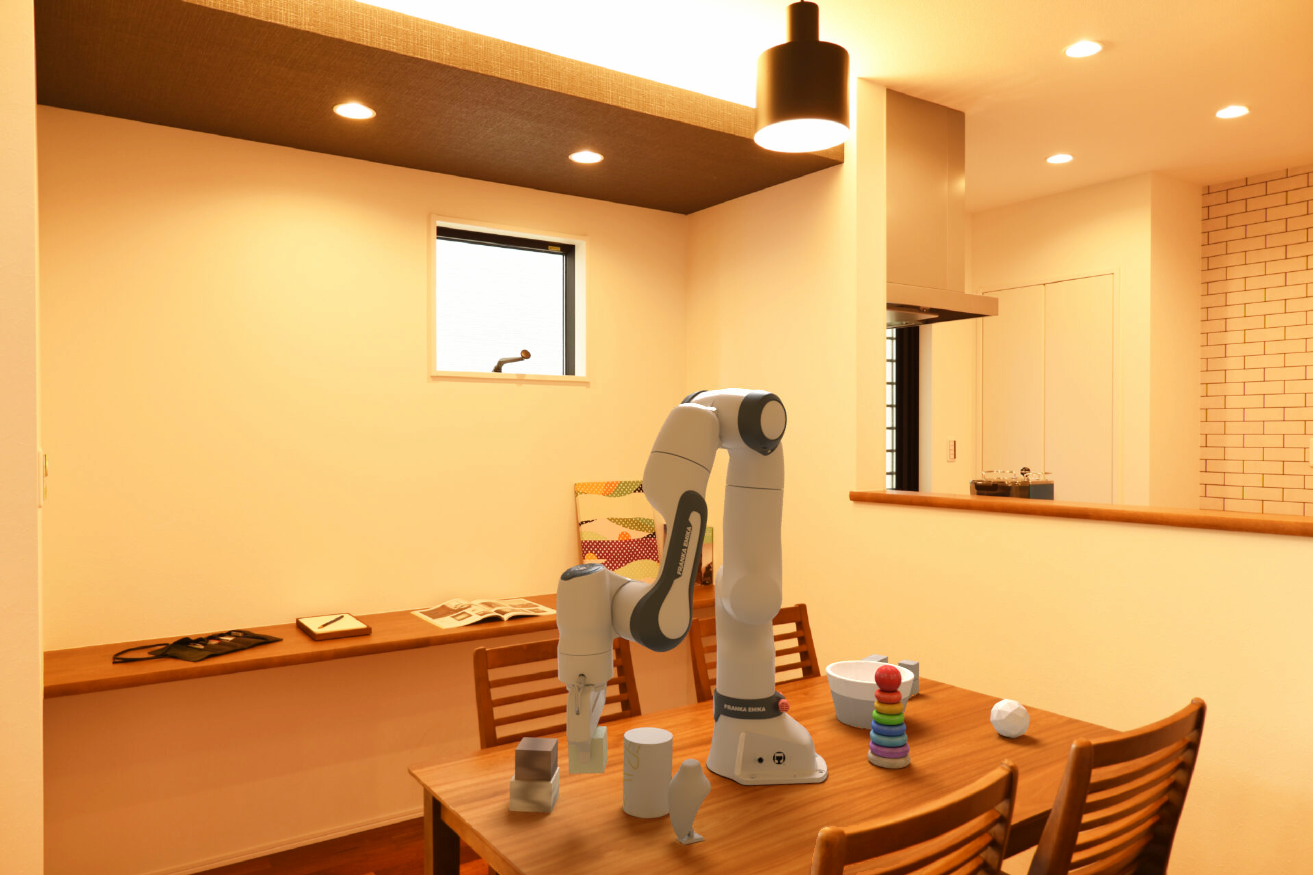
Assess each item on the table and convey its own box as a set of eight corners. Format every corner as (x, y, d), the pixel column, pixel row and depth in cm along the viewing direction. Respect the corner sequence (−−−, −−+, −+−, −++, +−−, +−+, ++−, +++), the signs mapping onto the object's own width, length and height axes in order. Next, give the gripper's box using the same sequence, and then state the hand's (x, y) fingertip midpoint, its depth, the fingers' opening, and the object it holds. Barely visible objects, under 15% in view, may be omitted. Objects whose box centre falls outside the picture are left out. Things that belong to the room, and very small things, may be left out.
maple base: (559, 795, 148) (559, 766, 148) (551, 813, 141) (551, 782, 141) (519, 794, 148) (519, 765, 148) (509, 811, 141) (509, 781, 141)
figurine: (659, 834, 133) (660, 757, 134) (686, 825, 137) (687, 750, 137) (689, 853, 127) (690, 772, 127) (716, 844, 131) (717, 765, 131)
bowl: (845, 700, 205) (846, 655, 205) (925, 717, 194) (926, 669, 194) (810, 721, 189) (811, 672, 189) (895, 740, 178) (896, 688, 178)
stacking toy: (876, 751, 171) (877, 657, 171) (916, 760, 167) (917, 664, 167) (861, 763, 165) (862, 665, 165) (902, 773, 160) (903, 672, 160)
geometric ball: (1007, 745, 184) (1016, 710, 188) (1033, 743, 177) (1041, 707, 181) (978, 728, 183) (987, 693, 187) (1003, 726, 176) (1012, 690, 180)
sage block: (607, 759, 140) (606, 726, 140) (603, 773, 134) (602, 738, 134) (574, 760, 140) (573, 726, 140) (568, 773, 135) (567, 738, 135)
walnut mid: (557, 767, 147) (558, 738, 147) (550, 781, 141) (551, 750, 141) (523, 766, 148) (523, 737, 148) (514, 779, 142) (515, 749, 142)
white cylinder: (621, 797, 147) (622, 727, 147) (668, 796, 148) (670, 726, 148) (624, 818, 139) (625, 744, 139) (673, 817, 140) (675, 743, 140)
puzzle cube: (852, 695, 210) (853, 662, 210) (873, 684, 220) (873, 653, 220) (899, 705, 203) (900, 671, 203) (918, 693, 212) (919, 661, 212)
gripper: (597, 685, 127) (600, 778, 127) (611, 650, 147) (614, 731, 147) (555, 686, 127) (557, 779, 127) (575, 651, 148) (577, 731, 148)
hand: (588, 753), depth 137 cm, fingers closed on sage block, 5 cm apart
